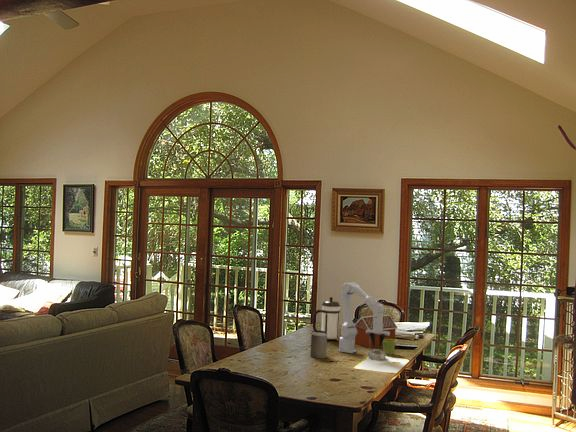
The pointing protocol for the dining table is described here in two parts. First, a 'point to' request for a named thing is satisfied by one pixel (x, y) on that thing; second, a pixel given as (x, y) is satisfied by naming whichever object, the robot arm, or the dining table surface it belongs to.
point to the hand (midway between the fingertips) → (377, 346)
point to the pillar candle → (318, 345)
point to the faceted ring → (376, 356)
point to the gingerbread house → (367, 324)
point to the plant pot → (389, 346)
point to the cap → (376, 351)
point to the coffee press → (329, 319)
